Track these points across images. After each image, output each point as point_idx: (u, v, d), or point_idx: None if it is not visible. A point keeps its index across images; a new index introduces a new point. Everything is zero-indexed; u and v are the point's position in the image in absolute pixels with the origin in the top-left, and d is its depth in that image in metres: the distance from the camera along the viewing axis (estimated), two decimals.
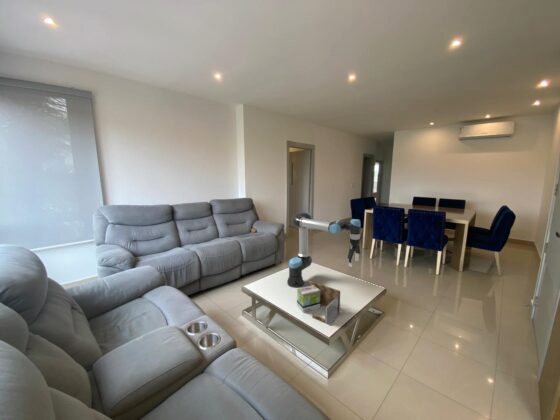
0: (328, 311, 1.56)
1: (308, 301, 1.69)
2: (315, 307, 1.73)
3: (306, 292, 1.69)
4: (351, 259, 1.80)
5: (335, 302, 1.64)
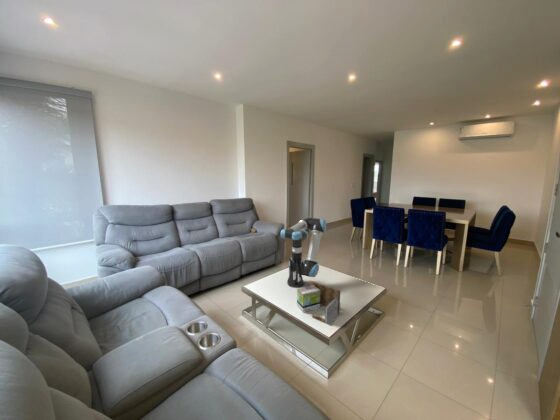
0: (328, 311, 1.56)
1: (308, 301, 1.69)
2: (315, 307, 1.73)
3: (306, 292, 1.69)
4: None
5: (335, 302, 1.64)
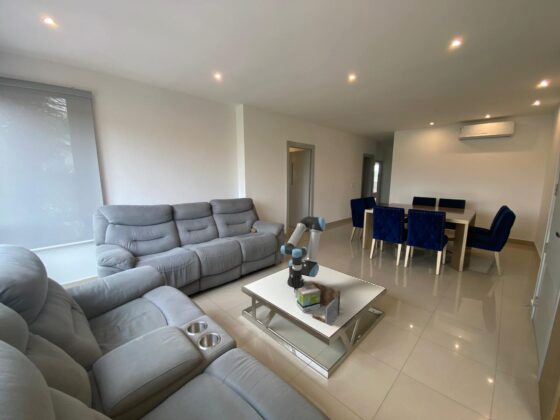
0: (328, 311, 1.56)
1: (308, 301, 1.69)
2: (315, 307, 1.73)
3: (306, 292, 1.69)
4: (295, 289, 1.81)
5: (335, 302, 1.64)
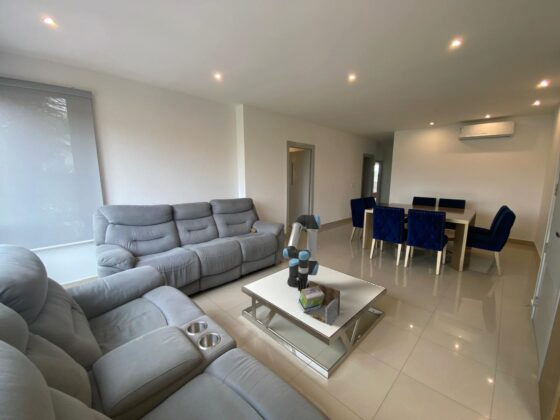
0: (328, 311, 1.56)
1: (310, 304, 1.66)
2: (316, 308, 1.72)
3: (310, 296, 1.64)
4: None
5: (335, 302, 1.64)
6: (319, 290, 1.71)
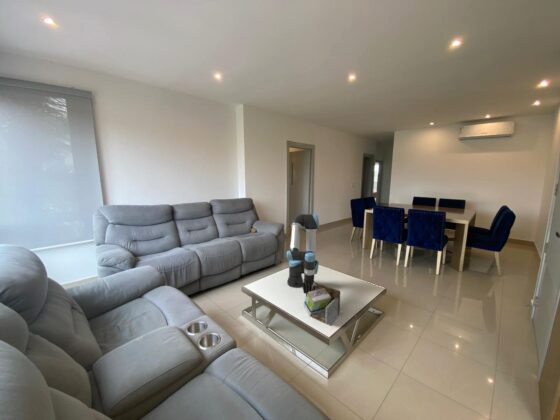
0: (328, 311, 1.56)
1: (317, 306, 1.63)
2: (322, 310, 1.69)
3: (317, 299, 1.61)
4: None
5: (335, 302, 1.64)
6: (325, 292, 1.67)
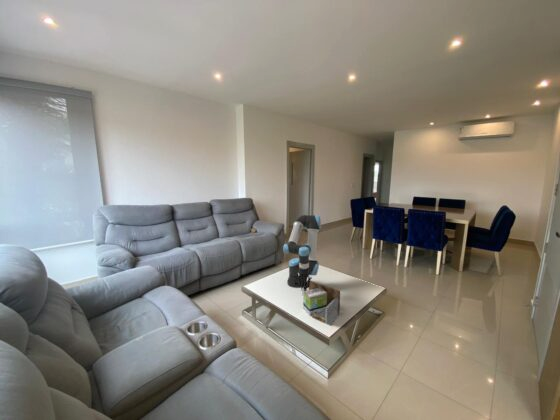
0: (328, 311, 1.56)
1: (315, 303, 1.65)
2: (322, 310, 1.69)
3: (313, 295, 1.66)
4: (302, 288, 1.78)
5: (335, 302, 1.64)
6: (321, 290, 1.72)
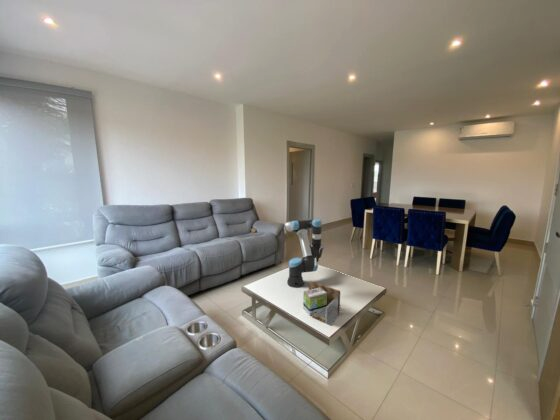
0: (328, 311, 1.56)
1: (315, 303, 1.65)
2: (322, 310, 1.69)
3: (313, 295, 1.66)
4: (315, 258, 1.93)
5: (335, 302, 1.64)
6: (321, 290, 1.72)
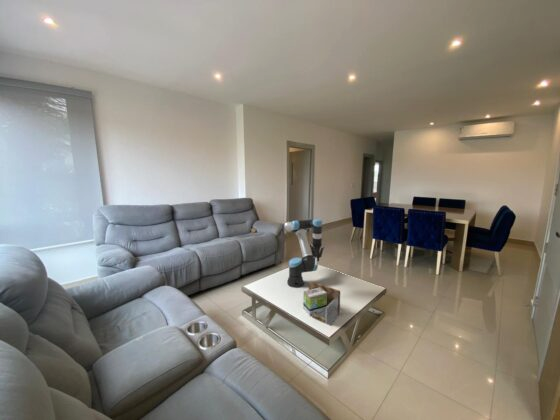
0: (328, 311, 1.56)
1: (315, 303, 1.65)
2: (322, 310, 1.69)
3: (313, 295, 1.66)
4: (315, 257, 1.93)
5: (335, 302, 1.64)
6: (321, 290, 1.72)
